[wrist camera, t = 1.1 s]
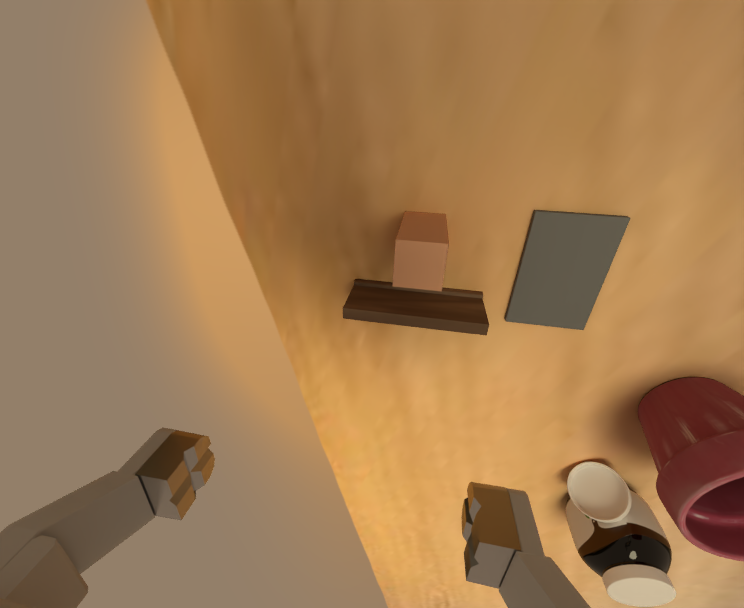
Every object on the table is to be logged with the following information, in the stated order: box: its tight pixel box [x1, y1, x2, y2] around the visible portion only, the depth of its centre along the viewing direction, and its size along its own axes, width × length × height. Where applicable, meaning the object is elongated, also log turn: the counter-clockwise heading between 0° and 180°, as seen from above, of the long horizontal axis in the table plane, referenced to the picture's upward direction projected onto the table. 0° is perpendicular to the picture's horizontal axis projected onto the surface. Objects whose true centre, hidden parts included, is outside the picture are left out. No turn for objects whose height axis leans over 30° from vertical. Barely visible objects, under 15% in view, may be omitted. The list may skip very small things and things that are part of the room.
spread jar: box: [566, 462, 676, 607], centre depth 42 cm, size 12×11×12 cm
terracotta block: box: [393, 211, 449, 291], centre depth 30 cm, size 4×4×9 cm
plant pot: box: [638, 377, 744, 561], centre depth 33 cm, size 14×14×13 cm
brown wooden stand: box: [343, 279, 489, 335], centre depth 35 cm, size 5×14×6 cm, turn 89°
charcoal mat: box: [505, 210, 630, 330], centre depth 33 cm, size 12×8×1 cm, turn 179°
